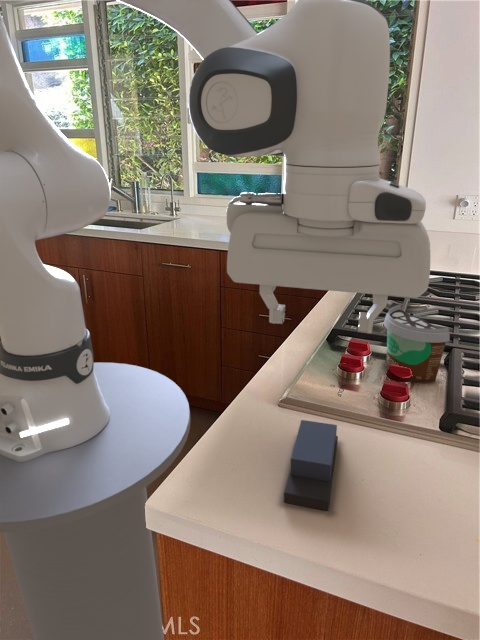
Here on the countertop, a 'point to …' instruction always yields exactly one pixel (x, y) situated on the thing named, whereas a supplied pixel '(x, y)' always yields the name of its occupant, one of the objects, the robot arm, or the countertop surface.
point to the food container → (414, 344)
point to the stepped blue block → (312, 465)
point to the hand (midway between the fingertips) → (319, 326)
